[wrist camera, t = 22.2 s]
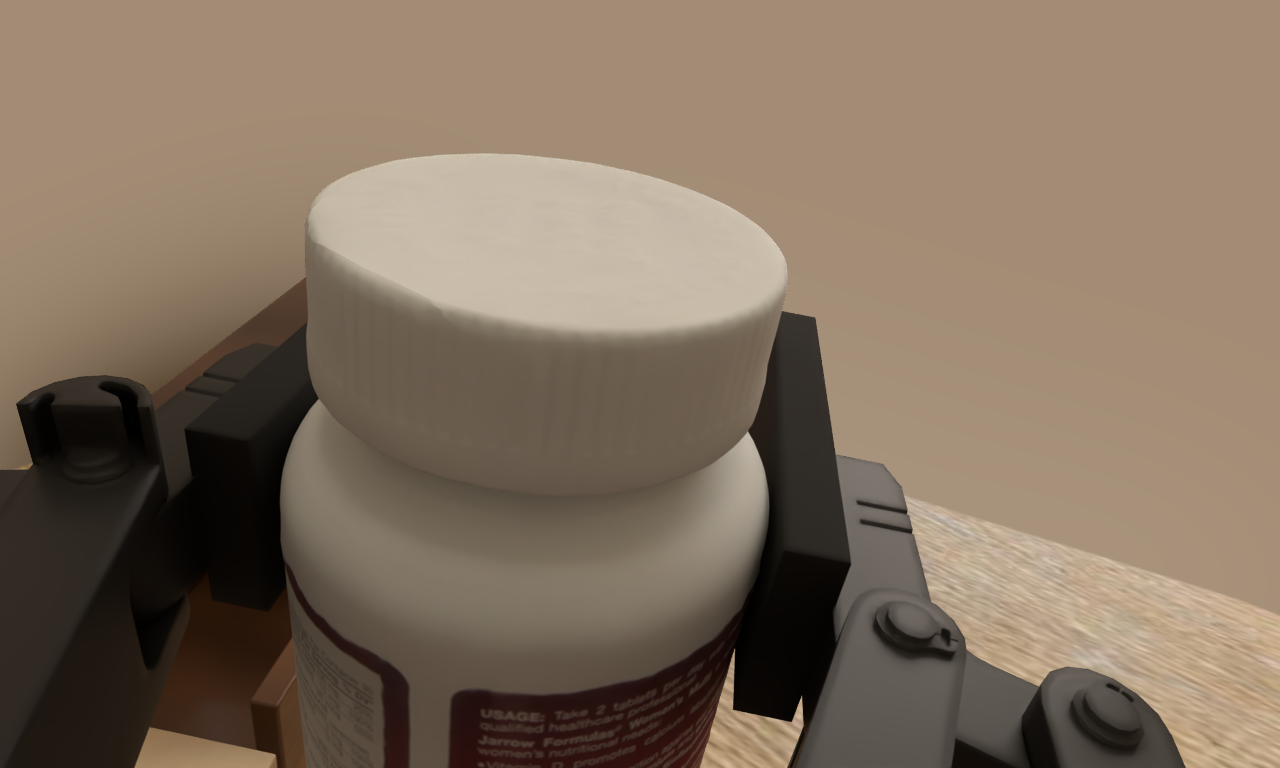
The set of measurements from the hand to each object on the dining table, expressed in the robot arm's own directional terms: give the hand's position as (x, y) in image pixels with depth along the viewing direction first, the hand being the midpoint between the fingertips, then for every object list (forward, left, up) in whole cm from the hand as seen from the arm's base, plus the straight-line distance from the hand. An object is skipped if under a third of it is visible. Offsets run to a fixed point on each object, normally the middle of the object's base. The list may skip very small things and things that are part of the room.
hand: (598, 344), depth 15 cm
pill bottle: (0, -5, -7) cm, 9 cm away
